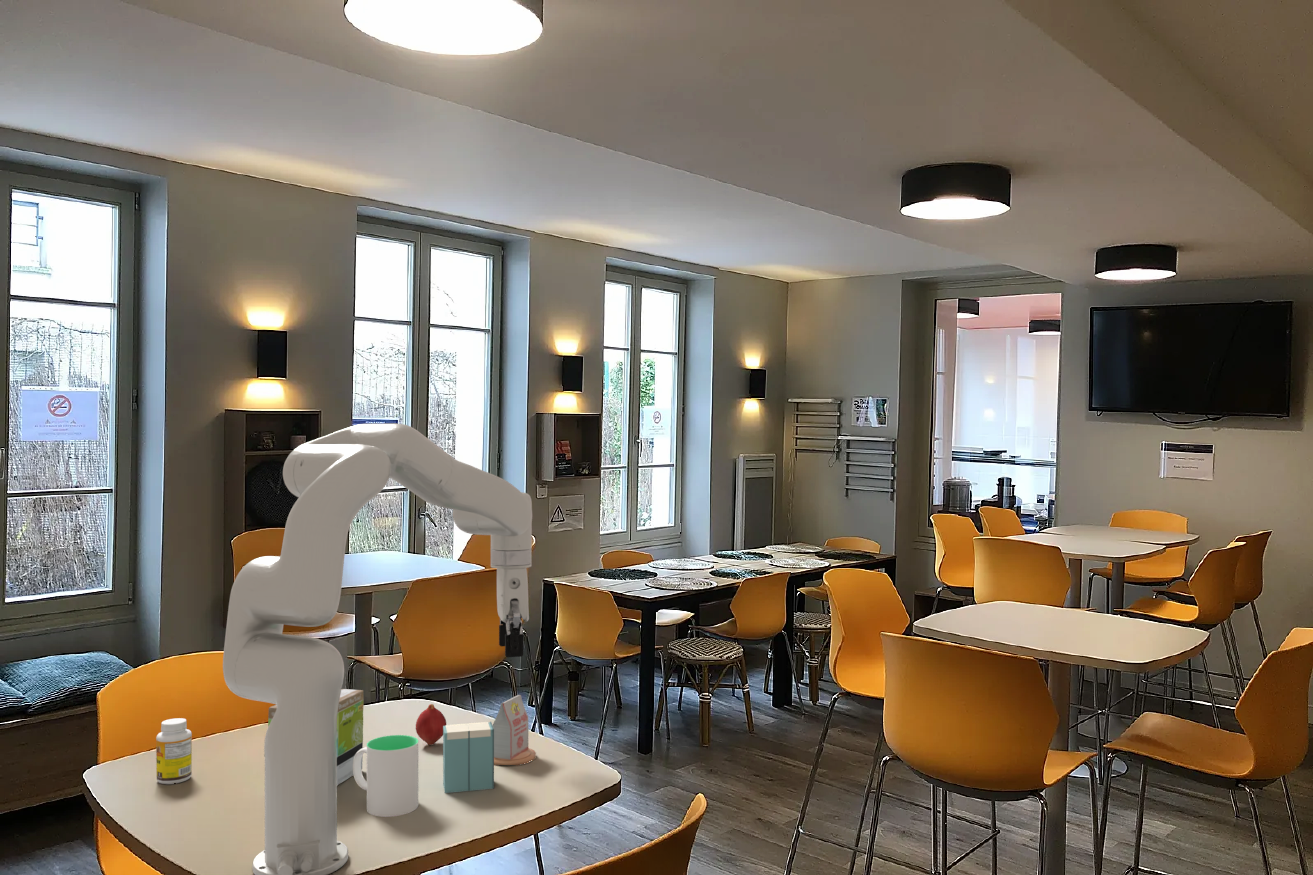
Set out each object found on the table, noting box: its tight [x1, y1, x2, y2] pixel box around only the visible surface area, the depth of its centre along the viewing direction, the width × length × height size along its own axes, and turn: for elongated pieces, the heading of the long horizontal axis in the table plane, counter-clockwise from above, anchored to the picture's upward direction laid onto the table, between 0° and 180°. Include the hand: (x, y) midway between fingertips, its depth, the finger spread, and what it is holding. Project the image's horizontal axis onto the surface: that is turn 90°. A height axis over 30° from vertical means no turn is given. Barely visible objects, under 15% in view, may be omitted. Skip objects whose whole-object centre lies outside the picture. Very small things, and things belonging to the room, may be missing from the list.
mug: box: [353, 734, 419, 818], centre depth 161 cm, size 12×8×10 cm, turn 67°
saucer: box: [494, 747, 537, 766], centre depth 184 cm, size 9×9×1 cm
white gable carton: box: [492, 694, 529, 760], centre depth 184 cm, size 4×7×10 cm, turn 159°
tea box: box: [267, 688, 365, 786], centre depth 172 cm, size 15×10×15 cm, turn 168°
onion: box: [415, 703, 447, 746], centre depth 192 cm, size 6×6×8 cm
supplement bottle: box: [155, 717, 193, 785], centre depth 173 cm, size 6×6×10 cm
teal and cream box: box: [442, 721, 495, 794], centre depth 170 cm, size 4×8×10 cm, turn 105°
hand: (510, 651), depth 184 cm, fingers open, 9 cm apart
